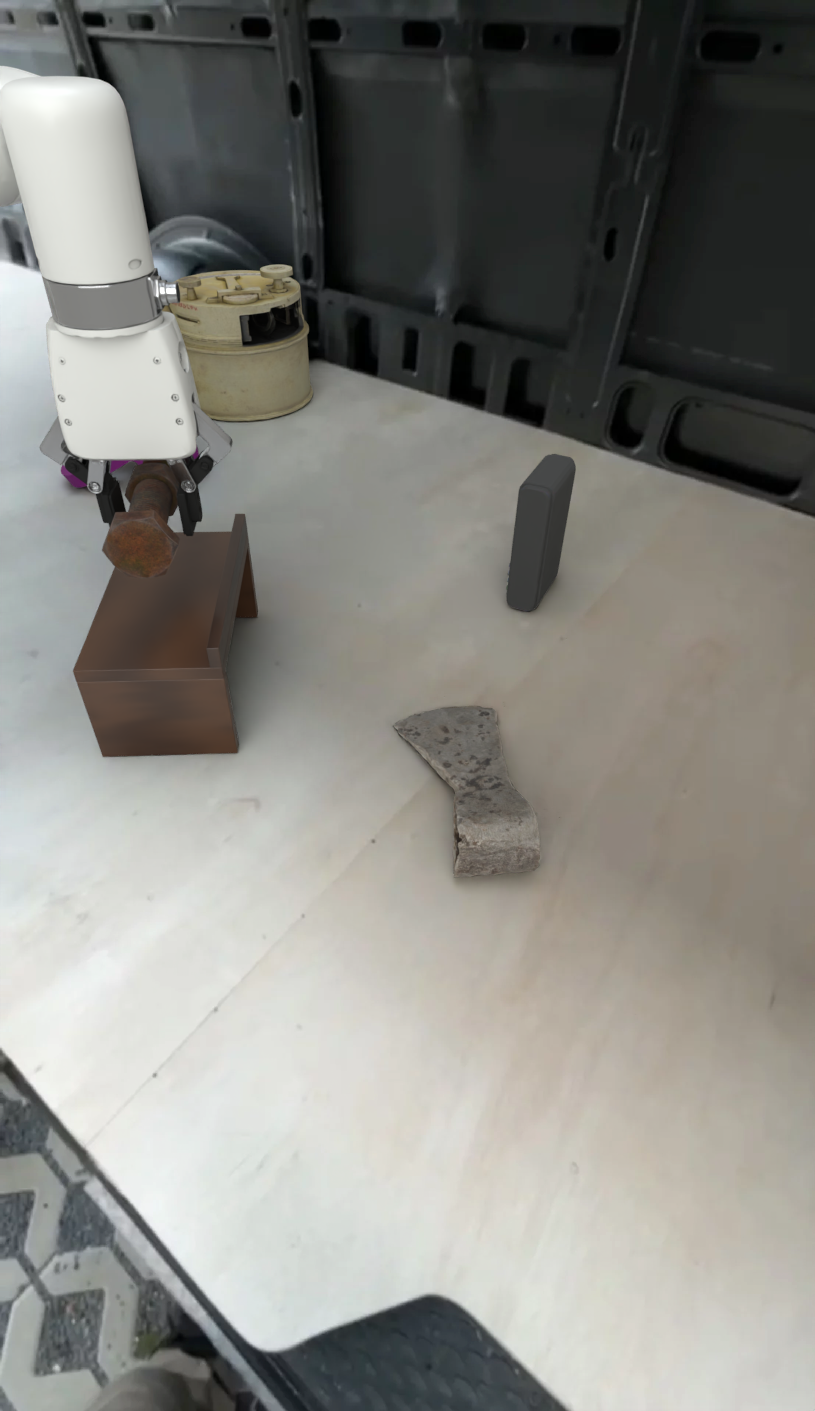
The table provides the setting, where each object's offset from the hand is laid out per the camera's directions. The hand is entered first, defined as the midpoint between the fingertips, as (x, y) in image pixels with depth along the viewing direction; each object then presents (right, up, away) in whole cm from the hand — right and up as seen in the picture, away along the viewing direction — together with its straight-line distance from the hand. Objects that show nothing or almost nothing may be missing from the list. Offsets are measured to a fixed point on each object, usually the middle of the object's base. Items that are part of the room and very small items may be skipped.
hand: (155, 526), depth 68 cm
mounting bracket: (-17, +17, +43) cm, 50 cm away
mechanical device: (-11, +36, +64) cm, 74 cm away
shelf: (0, -12, +11) cm, 17 cm away
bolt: (0, 0, 0) cm, 1 cm away
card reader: (+36, -2, +24) cm, 43 cm away
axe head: (+27, -23, +1) cm, 35 cm away
